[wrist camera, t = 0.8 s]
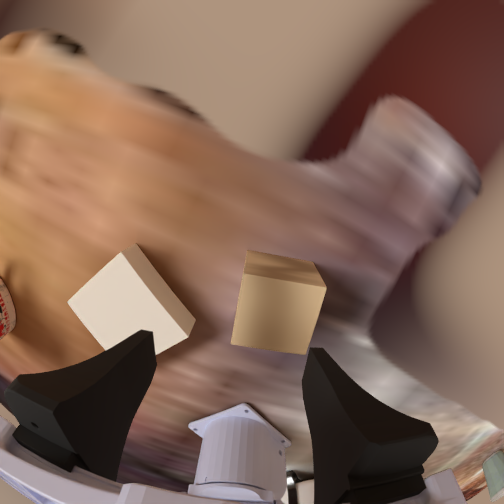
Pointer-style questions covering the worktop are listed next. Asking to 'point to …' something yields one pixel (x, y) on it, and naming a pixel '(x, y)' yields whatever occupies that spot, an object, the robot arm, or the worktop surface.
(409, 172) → the worktop surface
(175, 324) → the ceramic plinth
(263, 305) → the brass cube
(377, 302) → the worktop surface
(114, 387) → the robot arm
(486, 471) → the disposable coffee cup
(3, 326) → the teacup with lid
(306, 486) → the coffee press
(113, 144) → the worktop surface
